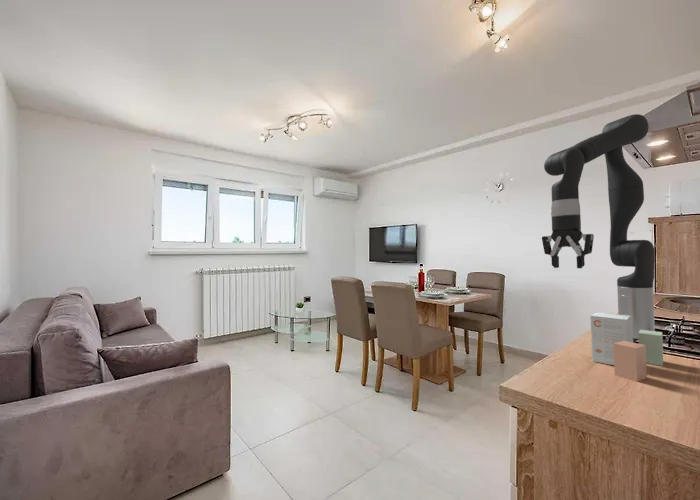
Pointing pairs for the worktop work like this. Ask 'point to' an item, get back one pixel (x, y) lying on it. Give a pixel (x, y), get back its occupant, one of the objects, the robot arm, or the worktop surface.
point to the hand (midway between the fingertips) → (567, 267)
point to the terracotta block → (630, 360)
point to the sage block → (652, 346)
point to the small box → (608, 334)
